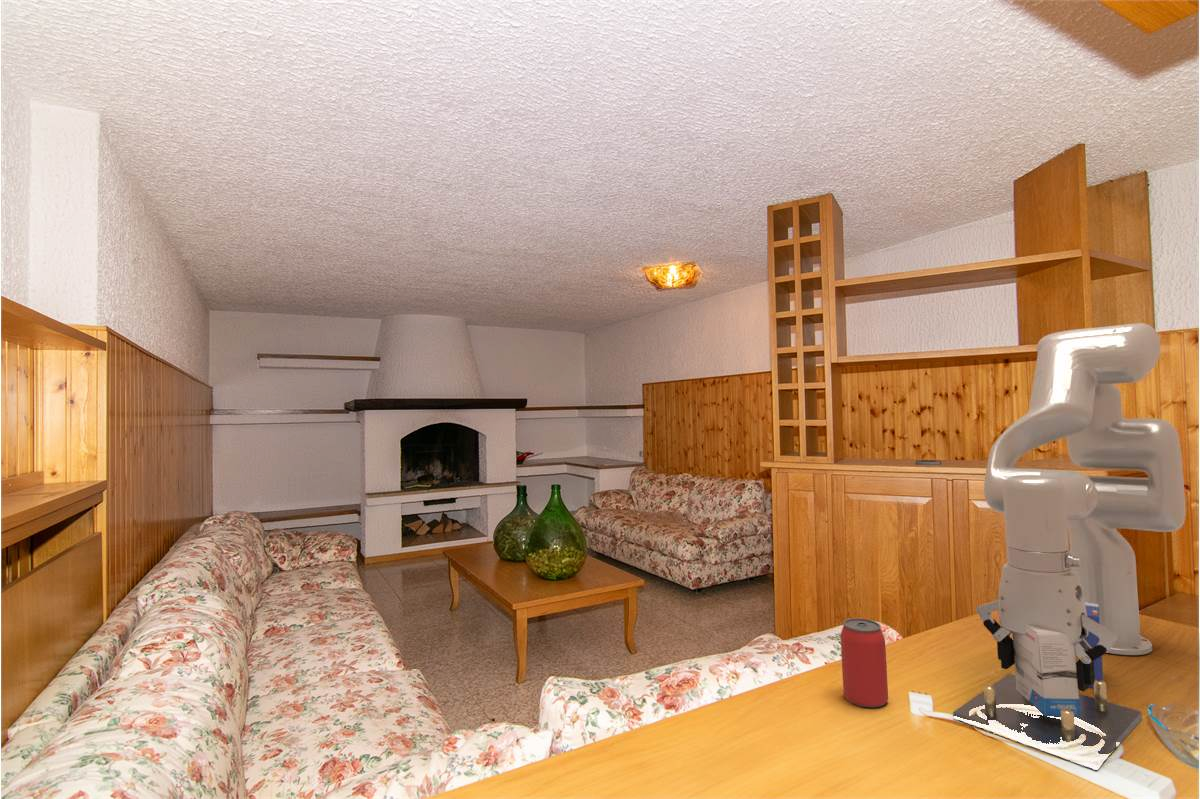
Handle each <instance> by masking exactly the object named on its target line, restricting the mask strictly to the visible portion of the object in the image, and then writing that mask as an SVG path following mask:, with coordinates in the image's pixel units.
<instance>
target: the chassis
mask: <svg viewBox="0 0 1200 799" xmlns="http://www.w3.org/2000/svg"><path fill="white" fill-rule="evenodd" d="M1093 693H1094V697H1091V696H1089V695H1084V694H1081V693H1079V702H1080V712H1081V717H1077V718H1079V719H1081V720H1083V721H1085V722H1087V723H1089V724H1091V725H1094V726H1095V727H1097V728H1099V729H1100V730H1101V731H1102V732H1103V733H1105V734H1106V736H1104V737H1103V736H1102V737H1101V736H1100V735H1099V734H1096V733H1093V732H1089V731H1086V730H1085V729H1083V728H1081V727H1079V726H1077V725H1075V724H1074V712H1073V711H1072V710H1069V709H1061V720H1060V719H1056V718H1050V717H1047V716H1044V715H1043V716H1042V715H1037V716H1040V717H1039V718H1033V717H1031V714H1029V716H1028V712H1027V715H1025V713H1023V712H1019V711H1016V710H1014V709H1011V708H1007V707H1006V708H1002V707H1001V708H996V705H999V704H1024V705H1031V706H1034V705H1032V704H1031V703H1030V702H1029V701H1028V700H1027V699H1026V698H1025V697H1024V696H1023V695H1022V694H1021V693H1019V692H1018V691H1017V689H1016V675H1015V674H1011V673H1008V674H1006V675H1005V676H1003V677H1001V679H999V680H997V681H996V682H994V683H993V684H991V685H990V684H984V685H983V690H982V691H981V692H980V693H979V694H977V695H976V696H974V697H973V698H971V699H970V700H968V701H967V702H966V703H963V705H961V706H959V707H958V708H957V709H955V710H954V711H953V712H952V717H953V716H957V717H960V718H963V719H967V720H972V721H976V722H979V723H981V724H986V725H989V723H988V720H996V721H998V722H999V723H1001V724H1002V725H1005V727H1008V728H1009V729H1011V730H1013V729H1014V731H1015V730H1017V732H1018V733H1019V732H1020V733H1021V731H1022V732H1025V733H1026V735H1027V736H1028V737H1031V738H1032V740H1036V741H1041V742H1042V743H1046V744H1047V743H1048V744H1049V742H1050V743H1053V744H1054V743H1056V744H1057V743H1058V742H1060V740H1061V739H1060V737H1062V740H1063V741H1066V742H1070V741H1074V740H1076V739H1078V738H1079V736H1080V735H1081V734H1085V735H1086V740H1085V741H1084V742H1083V743H1082V744H1081V745H1083V746H1094V745H1096V744H1098V743H1099V742H1100V740H1101V739H1103V740H1104V741H1105V744H1104V746H1103V747H1102V748H1101V750H1100V751H1098V753H1099V754H1109V753H1111V752H1112V751H1114V750H1115V748H1116V742H1120V743H1121V744H1122V743H1123V741H1125V739H1126V738H1127V737H1128V736H1129V735H1130V733H1131V732H1132V731H1133V730H1134V729H1135V728H1136V726H1137V725H1138V724H1139V723H1140V722H1141V721H1142V720H1143V714H1142V713H1143V712H1142V710H1141V711H1140V710H1137V709H1133V708H1130V707H1126V706H1123V705H1120V704H1115V703H1113V702H1109V701H1108V697H1107V694H1108V693H1107V683H1106V681H1105V680H1103V681H1102V680H1095V683H1094V688H1093ZM983 705H985V709H981V710H980V711H981V712H982V713H984V714H985V715H986V716H987V720H985V719H983V718H981V717H979V716H978V715H977V714H974V715H971V716H969V711H970V710H971V709H973V708H976V707H979V706H983ZM1032 716H1033V714H1032ZM1034 716H1036V715H1034ZM1020 723H1021V724H1022V723H1024V724H1028V726H1026V727H1025V728H1024V727H1023V726H1021V725H1020ZM1022 727H1023V730H1022V729H1021V728H1022ZM1050 740H1051V741H1050ZM1058 744H1059V743H1058ZM1116 749H1117V748H1116ZM1115 751H1116V750H1115ZM1115 751H1114V752H1115Z"/></svg>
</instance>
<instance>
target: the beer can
mask: <svg viewBox="0 0 1200 799" xmlns="http://www.w3.org/2000/svg"><path fill="white" fill-rule="evenodd" d="M881 628H882V626H881V624H880V623H879V622H877V621H875V620H872V619H866V618H858V617H857V618H848V619H845V620H844V621H843V627H842V629H841V632H840V649H841V650H840V651H841V654H840V656H841V666H842V667H841V669H842V670H841V674H842V688H843V690H842V691H843V695H844V698H845V699H847V701H849V702H850V703H852V704H854V705H857V706H859V707H863V708H880V707H883V706H884V705H886V704H887V703H888V700H889V686H888V684H889V683H888V670H887V669H888V667H887V666H888V665H887V649H886V639H885V635H884V633H883V631H882V629H881Z"/></svg>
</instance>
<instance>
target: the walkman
mask: <svg viewBox="0 0 1200 799" xmlns="http://www.w3.org/2000/svg"><path fill="white" fill-rule="evenodd" d="M1085 605H1086V611H1087V617H1089V618H1090V619H1092V620H1094V621H1095V622H1097V623H1098V624H1100V620H1099V618H1100V617H1099V607H1098V604H1093V603H1088V602H1085ZM1084 639H1085V640H1086V641H1087V643H1088V644H1089V645H1090V646H1091V647H1092V648H1093V647H1094V646H1096V645H1097V644H1098V642H1099V641H1100V639H1099V637H1098V636H1096V635H1095V634H1093V633H1091V632H1090V631H1089V633H1088V636H1087V638H1084ZM1103 670H1104V669H1103V655H1102V656H1100V657H1099V658H1097V659H1095V660H1094V673H1095V680H1102V681H1104V674H1103V673H1104V671H1103ZM1089 688H1092V689H1094V684H1093V685H1091V686H1090V687H1089Z"/></svg>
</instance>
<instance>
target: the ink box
mask: <svg viewBox="0 0 1200 799" xmlns="http://www.w3.org/2000/svg"><path fill="white" fill-rule="evenodd" d="M1011 635H1012V640H1013V648H1014V662H1015V664H1014V675H1015V676H1016V689H1017V691H1018V692H1019V693H1021V694H1022V695H1023V696H1024V697H1025V698H1026V699H1027V700H1028V701H1029V702H1030V703H1031V704H1032V705H1034V706H1035V707H1036V708H1037V709H1038V710H1039V711H1040V712H1041V713H1042V714H1043V715H1044V716H1054V717H1061V709H1069V710H1072V711H1073V712H1074V717H1081V712H1080V702H1079V694H1080V693H1079V689H1078V681H1077V670H1076V662H1077V660H1076V659H1077V658H1076V654H1075V646H1074V645H1072V644H1070V643H1069V639H1068V636H1067V635H1065V634H1063V633H1059V632H1055V631H1051V630H1047V629H1042V628H1038V627H1034V626H1030V625H1026V633H1025V635H1021V634H1017V633H1013V632H1012V633H1011Z"/></svg>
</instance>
